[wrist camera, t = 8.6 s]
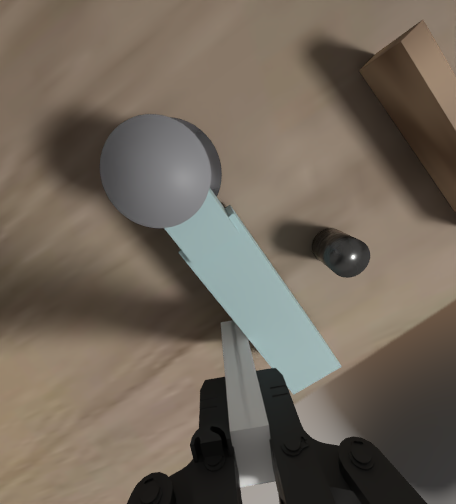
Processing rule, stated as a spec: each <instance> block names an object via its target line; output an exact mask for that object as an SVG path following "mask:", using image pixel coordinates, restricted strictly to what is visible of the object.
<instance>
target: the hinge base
mask: <svg viewBox="0 0 456 504" xmlns="http://www.w3.org/2000/svg"><path fill="white" fill-rule="evenodd" d="M170 118H171V117H170ZM172 119H175V120H177V121H178V122H180V123H182V124H184V125H185V126H186V127H187V128H189V129H190V130H191V131H192V132H193V133H194V134H195V135H196V137H197V138H198V139H199V140H200V142H201V144H202V145H203V147H204V149H205V151H206V154H207V156H208V159H209V162H210V166H211V183H210V188H211V190H212V191H213V193H214V194H215V195H216V197H217V195H218V192H219V189H220V185H221V176H222V173H221V164H220V159H219V156H218V153H217V151H216V149H215V147H214V145H213V144H212V142H211V141H210V139H209V138H208V137H207V136H206V135H205V134H204V133H203V132H202V131H201V130H200V129H199V128H197V127H196V126H195V125H193V124H191V123H189V122H187V121H184V120H182V119H177V118H172ZM312 251H313V254H314V255H315V256H316V258H318V259H319V260H320V261H321V262H322V263H324V264H325V265H326V266H327V267H328V268H330V269H331V270H332V271H333V272H334V273H336V274H337V275H339V276H341V277H347V278H348V277H353V276H356V275H358V274H360V273H361V272H362V271H363V270H364V269H365V268H366V267H367V265H368V263H369V260H370V251H369V248H368V246H367V245H366V244H365V243H364V242H362V241H360V240H358V239H356V238H354V237H352V236H350V235H348V234H345V233H343V232H341V231H339V230H337V229H332V228H330V229H325V230H323V231H321V232H320V233H318V234H317V235H316V237H315V238H314V240H313V243H312Z"/></svg>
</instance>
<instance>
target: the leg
mask: <svg viewBox="0 0 456 504" xmlns="http://www.w3.org/2000/svg"><path fill="white" fill-rule="evenodd" d="M100 175H101V181H102V184H103V187H104V190H105V192H106V194H107V196H108V198H109V199H110V201H111V202H112V204H113V205H114V206H115V207H116V209H117V210H118V211H119V212H120V213H122V214H123V215H124V216H125V217H127V218H128V219H130V220H131V221H133V222H135V223H137V224H140V225H143V226H146V227H151V228H164V229H165V230H166V231H167V232H168V234H169V235H170V236H171V237H172V239H173V240H174V241H175V242H176V244H177V245H178V246H179V247H180V250H179V254H180V255H181V256H182V258H183V259H184V260H185V261H186V263H187V264H188V265H189V266H190V268H191V269H192V270H193V271H194V272H195V274H196V275H197V276H198V277H199V279H200V280H201V281H202V282H203V284H204V285H205V286H206V287H207V288H208V290H209V291H210V292H211V293H212V295H213V296H214V297H215V298H216V300H217V301H218V302H219V303H220V305H221V306H222V307H223V308H224V309H225V311H226V312H227V313H228V314H229V316H230V317H231V318H232V319H233V321H234V322H235V323H236V324H237V325H238V327H239V328H240V329H241V330H242V332H243V333H244V334H245V335H246V337H247V338H248V339H249V340H250V341H251V343H252V344H253V345H254V346H255V348H256V349H257V350H258V351H259V353H260V354H261V355H262V356H263V357H264V359H265V360H266V361H267V362H268V364H269V365H270V366H271V367H272V368H276V369H277V370H278V371H279V372H280V373H281V374H282V375H283V377H284V379H285V382H286V385H287V387H288V388H289V390H290V391H291V392H292V393H293V394H296V393H297V392H299V391H301V390H302V389H304V388H306V387H308V386H309V385H311V384H313V383H314V382H316V381H318V380H320V379H321V378H323V377H325V376H326V375H328V374H330V373H332V372H333V371H335V370H337V369H338V368H340V367H342V366H341V365H340V363H339V362H338V360H337V359H336V357H335V356H334V354H333V353H332V351H331V350H330V348H329V347H328V345H327V344H326V342H325V340H324V339H323V337H322V336H321V334H320V333H319V331H318V330H317V329H316V327H315V326H314V324H313V323H312V321H311V320H310V319H309V317H308V316H307V314H306V313H305V311H304V310H303V309H302V307H301V306H300V304H299V303H298V301H297V300H296V299H295V297H294V296H293V294H292V293H291V291H290V290H289V289H288V287H287V286H286V284H285V283H284V281H283V280H282V279H281V277H280V276H279V274H278V273H277V271H276V270H275V269H274V267H273V266H272V264H271V263H270V261H269V260H268V258H267V257H266V256H265V254H264V253H263V251H262V250H261V248H260V247H259V246H258V244H257V243H256V241H255V240H254V238H253V237H252V236H251V234H250V233H249V231H248V230H247V228H246V227H245V226H244V224H243V223H242V221H241V220H240V218H239V217H238V216H237V214H236V213H235V211H234V210H233V208H232V207H231V206H230V205H229V206H227V207H226V208H224V207H223V205H222V204H221V203H220V201H219V200H218V198H217V197H216V195H215V194H214V193H213V191H212V190H211V188H210V183H211V166H210V162H209V159H208V156H207V154H206V151H205V149H204V147H203V145H202V144H201V142H200V140H199V139H198V138H197V137H196V135H195V134H194V133H193V132H192V131H191V130H190V129H189V128H187V127H186V126H185V125H184V124H182V123H180V122H178V121H177V120H175V119H172V118H170V117H167V116H163V115H156V114H145V115H139V116H136V117H133V118H130V119H128V120H126V121H124V122H123V123H121V124H120V125H119V126H118V127H117V128H115V129H114V130H113V132H112V133H111V134H110V135H109V137H108V139H107V140H106V142H105V144H104V147H103V150H102V153H101V158H100Z"/></svg>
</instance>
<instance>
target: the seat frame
mask: <svg viewBox="0 0 456 504" xmlns="http://www.w3.org/2000/svg"><path fill="white" fill-rule="evenodd" d="M359 71H360V73H361V74H362V76H363V77H364V79H365V80H366V82H367V83H368V85H369V86H370V88H371V89H372V91H373V92H374V94H375V95H376V96H377V98H378V99H379V101H380V102H381V104H382V105H383V107H384V108H385V110H386V111H387V113H388V114H389V116H390V117H391V119H392V120H393V122H394V123H395V124H396V126H397V127H398V129H399V130H400V132H401V133H402V135H403V136H404V138H405V139H406V141H407V142H408V144H409V145H410V147H411V148H412V150H413V151H414V152H415V154H416V155H417V157H418V158H419V160H420V161H421V163H422V164H423V166H424V167H425V169H426V170H427V172H428V173H429V175H430V176H431V177H432V179H433V180H434V182H435V183H436V185H437V186H438V188H439V189H440V191H441V192H442V194H443V195H444V197H445V198H446V200H447V201H448V203H449V204H450V205H451V207H452V208H453V210H454V211H455V213H456V76H455V74H454V72H453V70H452V69H451V67H450V65H449V64H448V62H447V60H446V58H445V57H444V55H443V53H442V51H441V50H440V48H439V46H438V44H437V43H436V41H435V39H434V37H433V36H432V34H431V32H430V31H429V29H428V27H427V25H426V24H425V22H424V20H422V21H420V22H419V23H418V24H416V25H415V26H413V27H412V28H411V29H409V30H408V31H407V32H405V33H404V34H402V35H401V36H400V37H398V38H397V39H396V40H394V41H393V42H391V43H390V44H389V45H387V46H386V47H384V48H383V49H382V50H380V51H379V52H378V53H376V54H375V55H374V56H373V57H372V58H371V59H370V60H369V61H368V62H367V63H366V64H365V65H364V66H363V67H362V68H361V69H360V70H359Z"/></svg>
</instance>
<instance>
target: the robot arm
mask: <svg viewBox="0 0 456 504" xmlns="http://www.w3.org/2000/svg"><path fill="white" fill-rule="evenodd" d="M221 333H222V344H223V356H224V368H225V377H221V378H215V379H209V380H205V381H204V383H203V385H202V388H201V390H200V415H199V429H198V430H197V431H196V432H195V434H194V435H193V437H192V439H191V443H190V447H191V451H192V455H193V460H192V461H191V462H190V463H189V464H188V465H187V466H186V467H185V468H183V469H182V470H180V471H178V472H176V473H175V474H173V475H171V476H169V477H168V476H167V475H166V474H163V473H161V472H157V473H151V474H149V475H148V476H146V477H144V478H143V479H142V480H141V481H140V482H139V483H138V484H137V485H136V487H135V488H134V490H133V492H132V493H131V496H130V498H129V500H128V503H127V504H242V499H241V490H240V487H245V486H250V485H257V484H263V483H268V482H274V481H276V485H277V490H278V493H279V502H280V504H427V503H426V502H425V501H424V500H423V498H421V496H420V495H419V494H418V493H417V492H416V491H415V489H414V488H413V487H412V486H411V485H410V484H409V483H408V482H407V481H406V479H405V478H404V477H403V476H402V475H401V474H400V473H399V472H398V471H397V469H396V468H395V467H394V466H393V465H392V464H391V463H390V462H389V461H388V459H387V458H386V457H385V456H384V455H383V454H382V453H381V451H380V450H379V449H378V448H377V447H375V446H374V445H373V444H372V443H371V442H369V441H367V440H365V439H363V438H359V437H350V438H346V439H344V440H343V441H342V442H341V443H340V446H337V445H331V444H325V443H322V442H319V441H317V440H314V439H312V438H311V437H310V436H309V435H308V434H307V433H306V432H305V431H304V429H303V427H302V425H301V423H300V420H299V417H298V415H297V412H296V409H295V406H294V404H293V401H292V398H291V396H290V393H289V390H288V388H287V385H286V382H285V379H284V377H283V375H282V374H281V373H280V372H279V371H278V370H277V369H276V368H271V369H265V370H259V371H256V370H255V366H254V362H253V358H252V353H251V349H250V345H249V341H248V338H247V337H246V335H245V334H244V333H243V332H242V330H241V329H240V328H239V327H238V325H237V324H236V323H235V322H234V321H233V320H232V321H226V322H221Z"/></svg>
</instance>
